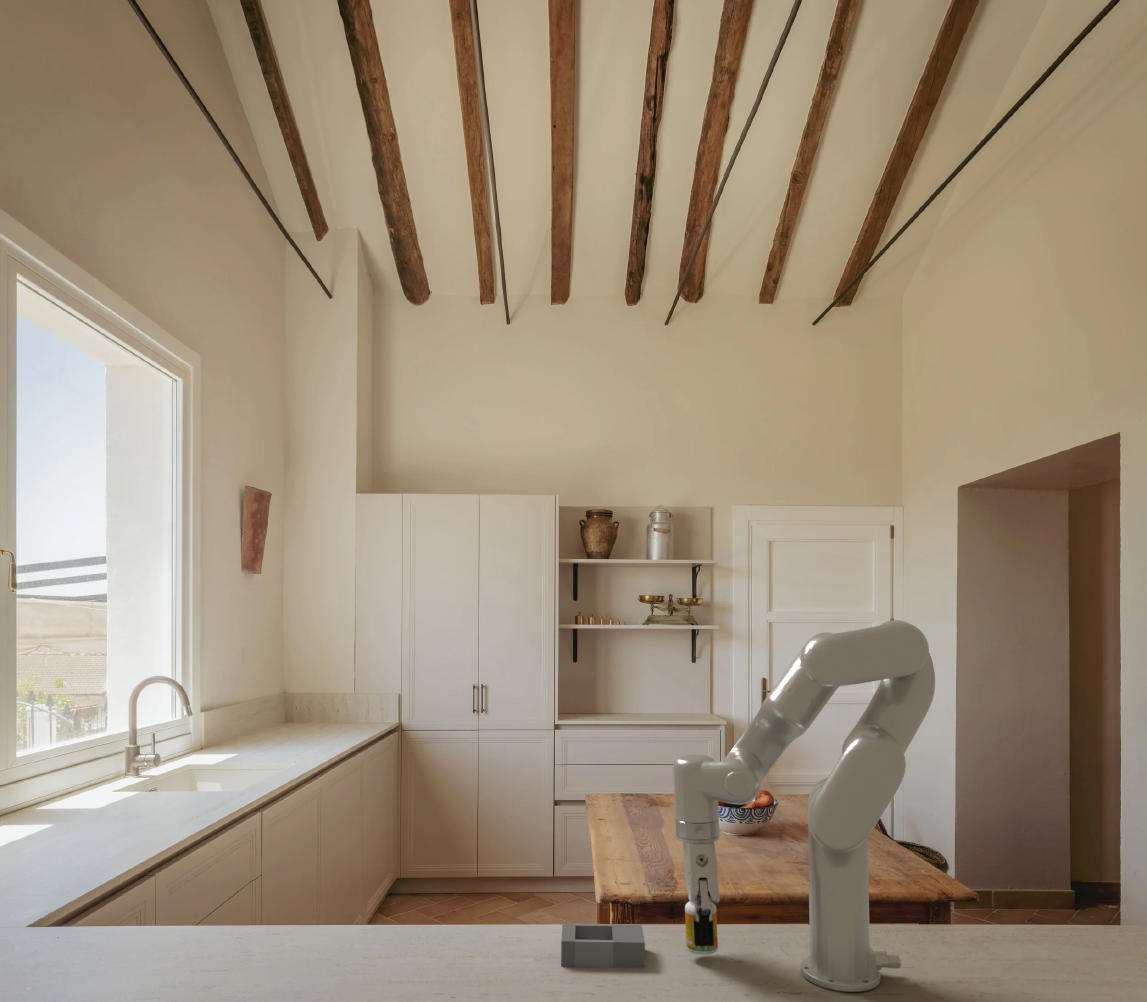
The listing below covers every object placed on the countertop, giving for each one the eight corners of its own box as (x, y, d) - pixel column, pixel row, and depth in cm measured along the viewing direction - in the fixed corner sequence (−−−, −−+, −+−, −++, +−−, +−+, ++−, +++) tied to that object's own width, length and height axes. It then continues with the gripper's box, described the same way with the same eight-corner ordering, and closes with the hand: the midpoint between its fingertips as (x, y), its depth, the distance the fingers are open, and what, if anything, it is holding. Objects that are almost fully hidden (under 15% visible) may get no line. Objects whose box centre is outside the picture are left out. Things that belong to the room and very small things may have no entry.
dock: (641, 948, 157) (641, 924, 157) (644, 967, 149) (644, 942, 149) (562, 947, 157) (562, 923, 157) (561, 966, 149) (561, 941, 149)
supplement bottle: (693, 957, 149) (691, 896, 150) (681, 945, 154) (679, 887, 155) (723, 953, 151) (720, 893, 152) (710, 941, 156) (707, 883, 157)
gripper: (726, 841, 146) (731, 957, 144) (712, 816, 163) (716, 919, 161) (681, 843, 146) (685, 958, 144) (671, 817, 163) (674, 920, 161)
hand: (701, 937), depth 153 cm, fingers closed on supplement bottle, 5 cm apart
